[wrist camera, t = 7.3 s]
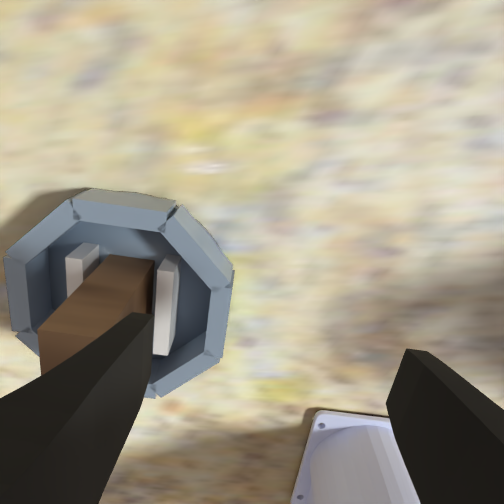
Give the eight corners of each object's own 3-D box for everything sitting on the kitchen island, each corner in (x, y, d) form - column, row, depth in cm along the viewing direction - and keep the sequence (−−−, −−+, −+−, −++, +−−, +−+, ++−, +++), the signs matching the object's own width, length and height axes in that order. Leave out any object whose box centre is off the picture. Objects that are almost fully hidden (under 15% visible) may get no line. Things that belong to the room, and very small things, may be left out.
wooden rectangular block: (151, 323, 21) (105, 420, 15) (109, 317, 21) (44, 412, 15) (154, 260, 20) (104, 338, 13) (109, 254, 20) (37, 329, 13)
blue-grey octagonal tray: (219, 375, 23) (215, 406, 21) (42, 353, 23) (18, 381, 20) (243, 208, 19) (241, 223, 17) (27, 176, 18) (-6, 187, 16)
